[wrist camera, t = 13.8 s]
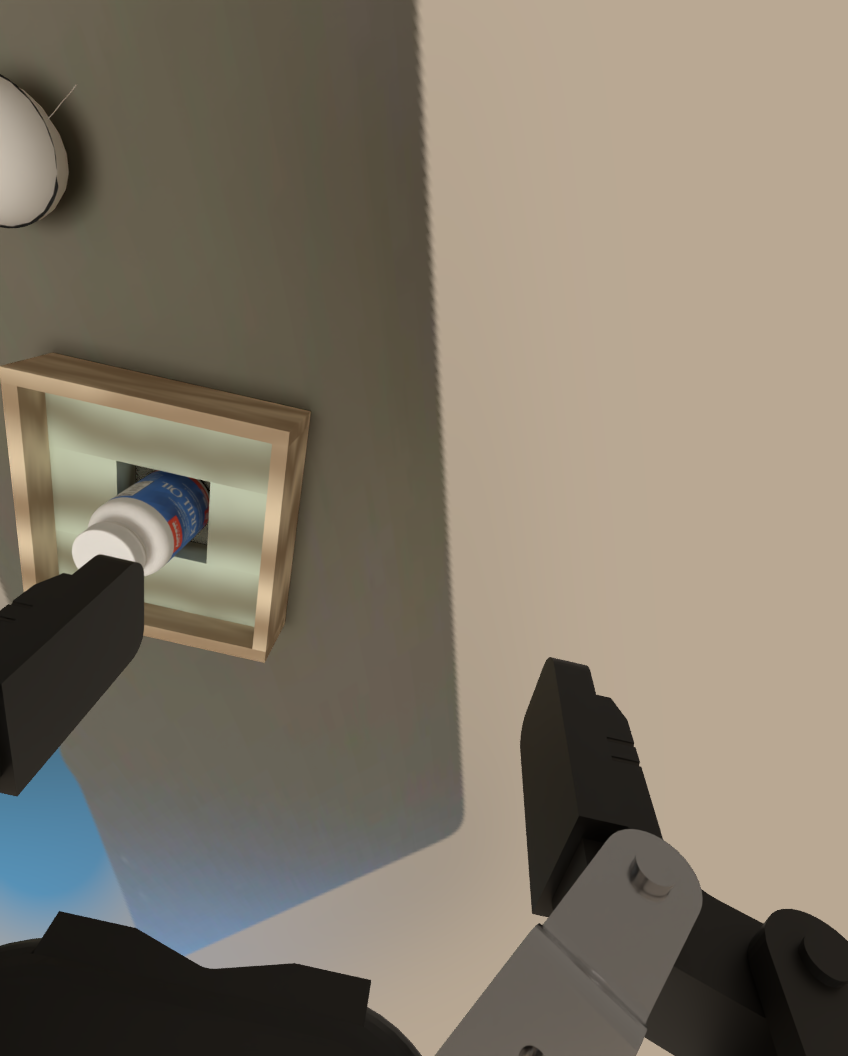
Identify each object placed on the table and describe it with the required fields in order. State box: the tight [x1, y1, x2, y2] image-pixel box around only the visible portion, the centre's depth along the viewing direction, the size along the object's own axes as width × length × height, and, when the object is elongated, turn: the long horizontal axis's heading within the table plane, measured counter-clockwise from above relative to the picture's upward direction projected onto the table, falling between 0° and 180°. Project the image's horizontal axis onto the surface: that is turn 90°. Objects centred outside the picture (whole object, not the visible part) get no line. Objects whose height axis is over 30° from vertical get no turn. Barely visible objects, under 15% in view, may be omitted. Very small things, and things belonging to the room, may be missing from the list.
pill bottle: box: [72, 470, 210, 576], centre depth 40 cm, size 6×5×10 cm
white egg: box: [0, 74, 77, 228], centre depth 32 cm, size 10×7×7 cm
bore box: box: [0, 353, 311, 663], centre depth 43 cm, size 18×18×5 cm
